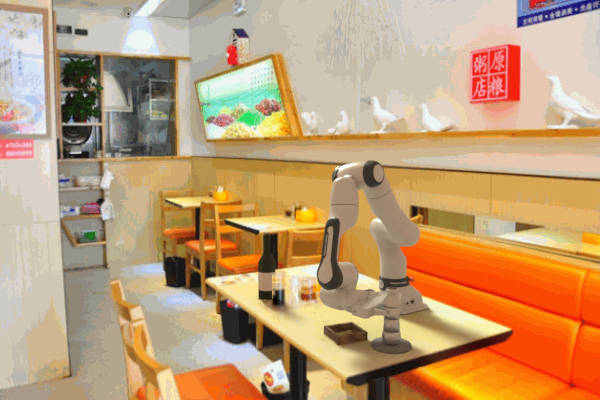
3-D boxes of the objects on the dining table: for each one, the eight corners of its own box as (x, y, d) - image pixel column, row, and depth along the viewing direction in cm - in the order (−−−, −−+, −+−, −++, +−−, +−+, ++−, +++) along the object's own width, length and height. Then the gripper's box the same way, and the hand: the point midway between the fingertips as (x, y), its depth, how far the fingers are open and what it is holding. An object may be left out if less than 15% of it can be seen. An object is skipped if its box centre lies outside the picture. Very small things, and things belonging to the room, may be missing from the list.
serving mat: (397, 336, 198) (397, 334, 198) (419, 350, 186) (419, 348, 185) (364, 341, 193) (364, 339, 193) (384, 356, 180) (384, 354, 180)
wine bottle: (261, 301, 241) (261, 235, 237) (255, 296, 248) (254, 232, 245) (278, 298, 244) (278, 233, 241) (272, 293, 252) (272, 230, 248)
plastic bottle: (401, 347, 186) (402, 291, 183) (381, 346, 187) (382, 290, 184) (400, 340, 192) (402, 286, 190) (381, 339, 193) (382, 285, 191)
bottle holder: (352, 329, 206) (352, 321, 205) (367, 340, 195) (367, 332, 194) (323, 333, 201) (323, 325, 201) (337, 344, 190) (337, 336, 190)
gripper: (343, 300, 187) (378, 308, 179) (373, 287, 203) (406, 294, 195) (343, 318, 188) (378, 326, 180) (373, 303, 204) (406, 311, 196)
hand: (393, 309), depth 187 cm, fingers open, 8 cm apart
